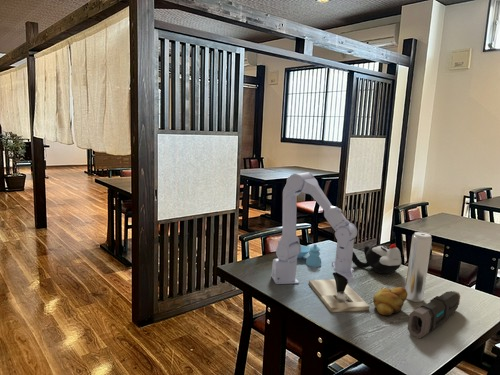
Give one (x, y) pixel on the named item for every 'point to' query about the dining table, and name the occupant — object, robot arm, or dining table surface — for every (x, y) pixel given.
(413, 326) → the tube
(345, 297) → the steel ball
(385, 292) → the bread roll
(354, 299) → the ash board
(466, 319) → the dining table surface
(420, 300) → the silver cylinder
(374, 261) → the toy
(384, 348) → the dining table surface
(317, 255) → the light blue lumpy shape
